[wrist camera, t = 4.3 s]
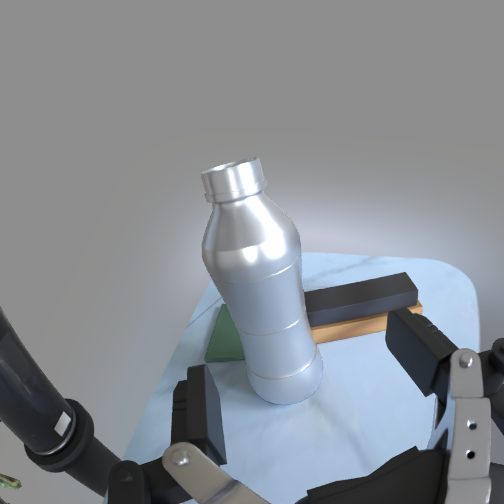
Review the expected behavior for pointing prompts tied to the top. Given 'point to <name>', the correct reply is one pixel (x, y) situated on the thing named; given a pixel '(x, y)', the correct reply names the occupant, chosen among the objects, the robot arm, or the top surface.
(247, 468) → the top surface
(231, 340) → the drying mat
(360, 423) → the top surface
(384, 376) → the top surface
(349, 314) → the grey and wooden block
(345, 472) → the top surface
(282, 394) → the silver metal bottle
